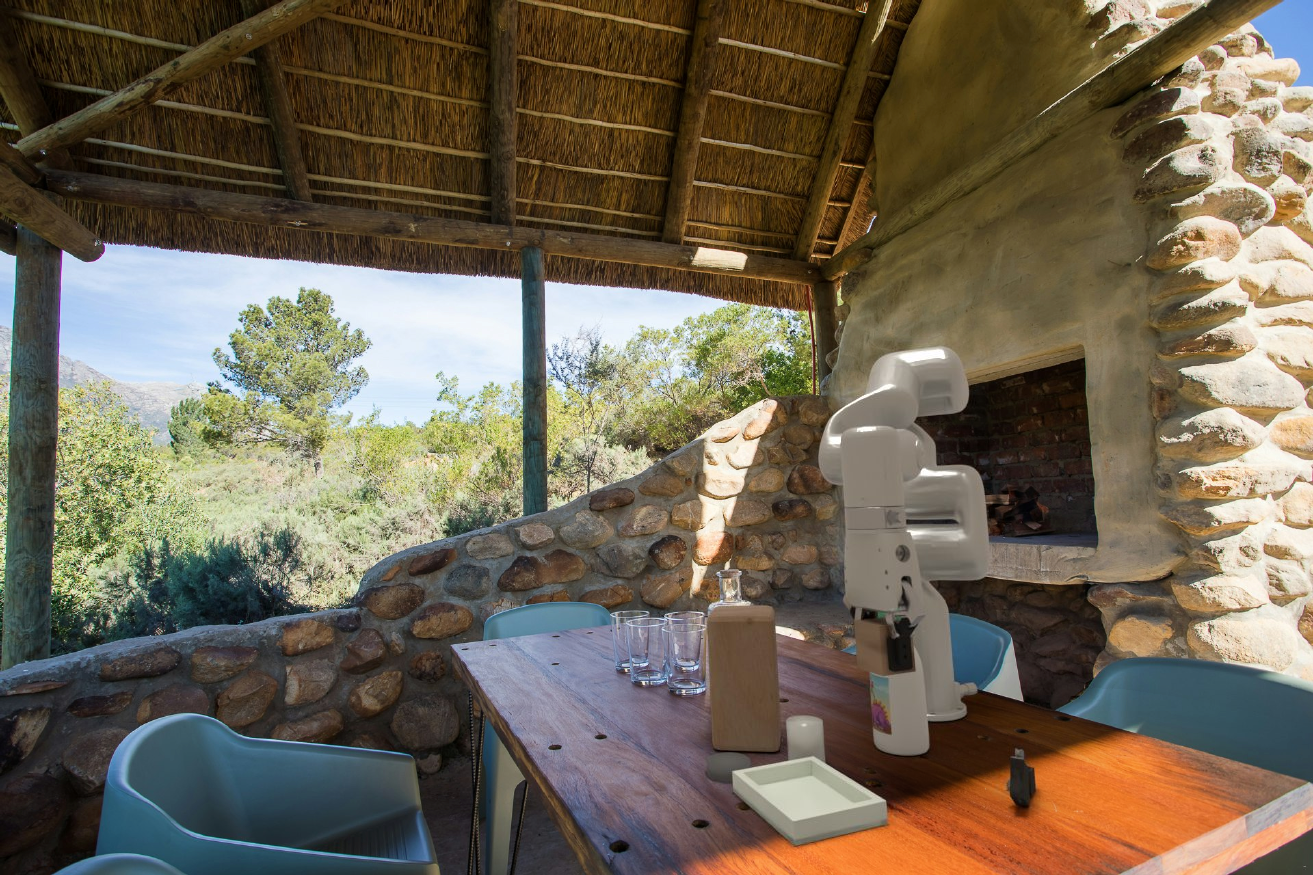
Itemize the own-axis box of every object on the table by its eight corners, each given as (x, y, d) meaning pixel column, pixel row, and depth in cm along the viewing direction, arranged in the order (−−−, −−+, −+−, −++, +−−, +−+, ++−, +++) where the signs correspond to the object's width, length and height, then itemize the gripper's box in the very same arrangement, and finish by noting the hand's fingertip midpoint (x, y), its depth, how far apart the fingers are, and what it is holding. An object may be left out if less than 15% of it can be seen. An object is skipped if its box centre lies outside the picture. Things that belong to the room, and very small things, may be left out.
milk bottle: (928, 740, 101) (917, 604, 103) (931, 759, 94) (920, 613, 96) (874, 736, 103) (865, 604, 105) (873, 754, 96) (863, 612, 98)
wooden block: (780, 754, 98) (772, 614, 100) (711, 752, 100) (705, 614, 102) (781, 731, 107) (774, 604, 109) (719, 729, 109) (713, 604, 111)
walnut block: (888, 663, 88) (885, 616, 89) (915, 671, 84) (911, 622, 84) (857, 667, 87) (854, 620, 87) (882, 676, 82) (879, 625, 83)
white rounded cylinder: (812, 756, 96) (810, 713, 97) (832, 768, 92) (829, 723, 92) (782, 762, 95) (779, 718, 95) (800, 775, 90) (798, 728, 91)
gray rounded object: (739, 764, 95) (738, 749, 95) (759, 780, 90) (758, 764, 90) (700, 771, 93) (699, 756, 93) (717, 787, 88) (717, 771, 88)
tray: (814, 775, 90) (813, 756, 90) (887, 824, 75) (886, 800, 76) (733, 791, 86) (732, 771, 86) (794, 845, 71) (793, 821, 72)
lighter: (1015, 812, 82) (1015, 763, 85) (1036, 816, 81) (1035, 767, 84) (1002, 794, 77) (1003, 743, 80) (1024, 798, 76) (1024, 746, 79)
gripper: (947, 520, 81) (960, 676, 79) (858, 520, 96) (867, 650, 94) (896, 522, 78) (908, 684, 76) (813, 522, 94) (821, 655, 92)
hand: (885, 663), depth 85 cm, fingers closed on walnut block, 5 cm apart
